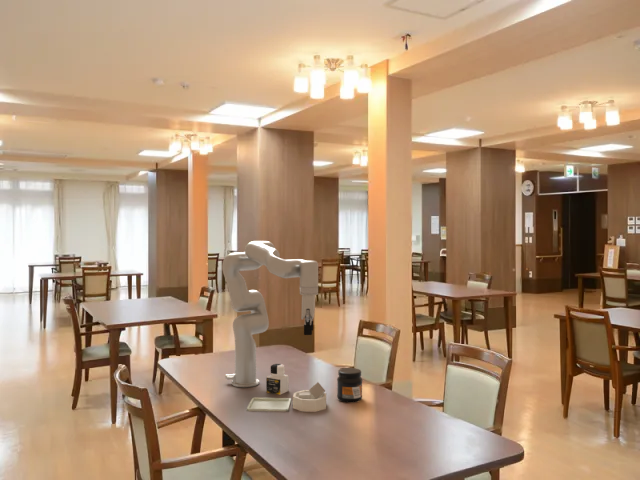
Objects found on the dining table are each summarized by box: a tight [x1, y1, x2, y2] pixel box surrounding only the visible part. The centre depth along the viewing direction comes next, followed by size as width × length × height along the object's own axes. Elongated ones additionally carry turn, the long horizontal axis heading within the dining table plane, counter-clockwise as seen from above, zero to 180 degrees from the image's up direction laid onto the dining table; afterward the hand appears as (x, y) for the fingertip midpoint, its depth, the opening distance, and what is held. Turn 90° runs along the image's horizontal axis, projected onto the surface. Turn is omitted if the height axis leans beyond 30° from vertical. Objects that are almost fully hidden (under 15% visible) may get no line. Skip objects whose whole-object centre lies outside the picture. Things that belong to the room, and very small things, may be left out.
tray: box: [246, 397, 292, 413], centre depth 217 cm, size 16×14×1 cm
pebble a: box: [299, 392, 311, 399], centre depth 215 cm, size 4×4×5 cm
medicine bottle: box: [265, 363, 290, 396], centre depth 236 cm, size 7×7×12 cm
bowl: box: [292, 389, 327, 413], centre depth 217 cm, size 13×13×5 cm
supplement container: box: [336, 367, 363, 403], centre depth 227 cm, size 10×10×12 cm
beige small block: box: [308, 381, 326, 399], centre depth 218 cm, size 4×4×5 cm
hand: (308, 332), depth 223 cm, fingers open, 9 cm apart
